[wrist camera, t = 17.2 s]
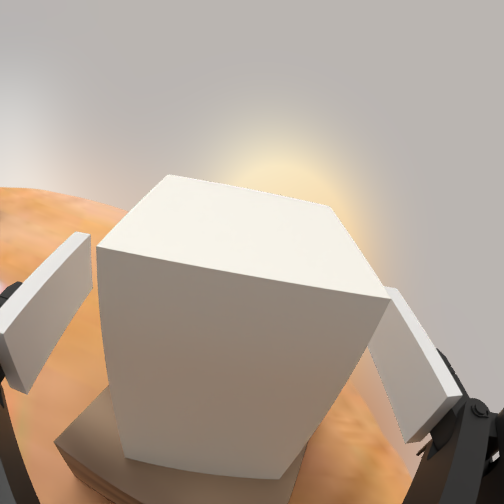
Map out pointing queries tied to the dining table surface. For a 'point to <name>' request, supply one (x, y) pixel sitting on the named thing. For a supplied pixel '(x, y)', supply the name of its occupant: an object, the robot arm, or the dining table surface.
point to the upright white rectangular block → (230, 325)
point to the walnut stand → (154, 469)
